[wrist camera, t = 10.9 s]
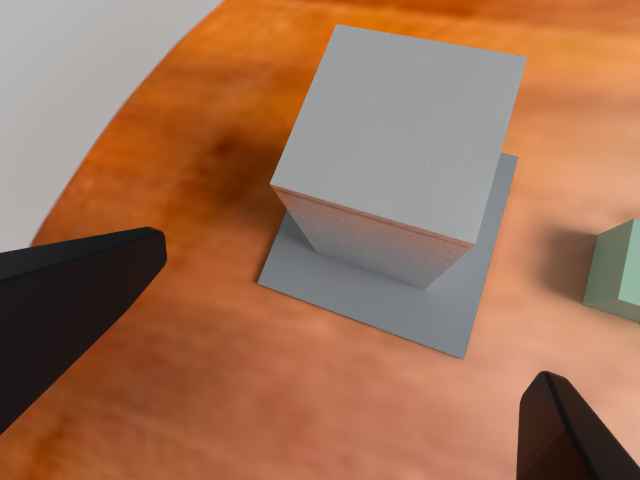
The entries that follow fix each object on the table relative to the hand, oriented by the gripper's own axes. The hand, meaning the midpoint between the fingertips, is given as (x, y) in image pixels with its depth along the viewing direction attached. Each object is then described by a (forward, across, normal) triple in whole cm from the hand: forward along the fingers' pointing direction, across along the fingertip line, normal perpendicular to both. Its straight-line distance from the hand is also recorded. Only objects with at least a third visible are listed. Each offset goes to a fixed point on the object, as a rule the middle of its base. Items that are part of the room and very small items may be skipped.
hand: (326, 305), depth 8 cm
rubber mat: (+13, 0, +4) cm, 14 cm away
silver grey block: (+13, 0, +4) cm, 13 cm away
